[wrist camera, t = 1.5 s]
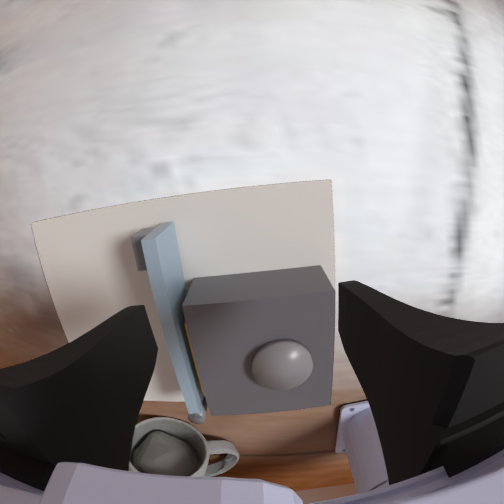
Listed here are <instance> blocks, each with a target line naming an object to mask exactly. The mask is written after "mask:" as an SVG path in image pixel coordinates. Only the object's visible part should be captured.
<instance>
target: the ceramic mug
mask: <svg viewBox="0 0 504 504" xmlns="http://www.w3.org/2000/svg"><path fill="white" fill-rule="evenodd" d="M222 453H228V454H227V456H226V457H225V458H224V459H223V460H221V461H219V462H216V463H213V464H210V465H208V462H209V456H210V455H212V454H222ZM238 460H239V453H238V451H237V449H236V447H235V446H234V444H233V443H231V442H229V441H226V440H210V441H206V439H205V438H204V436H203V435H202V434H201V432H200V431H199V430H197V429H196V428H195V427H194V426H192V425H191V424H189V423H186V422H184V421H182V420H179V419H176V418H170V417H153V418H149V419H145V420H143V421H141V422H139V423H137V424H136V426H135V431H134V436H133V441H132V447H131V455H130V462H129V471H131V472H139V473H147V474H158V475H170V476H189V477H211V476H215V475H219V474H221V473H224V472H226V471H228V470H229V469H231V468H232V467H233V466H234V465H235V464H236V463H237V462H238Z"/></svg>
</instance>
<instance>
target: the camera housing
mask: <svg viewBox="0 0 504 504" xmlns="http://www.w3.org/2000/svg"><path fill="white" fill-rule="evenodd" d="M182 308H183V313H184V317H185V323H184V325H185V329H186V333H187V337H188V341H189V345H190V349H191V353H192V357H193V360H194V364H195V368H196V371H197V375H198V379H199V382H200V386H201V389H202V393H203V396H205V398H206V401H207V404H208V408H209V411H210V414H211V416H213V415H240V414H256V413H269V412H279V411H289V410H297V409H305V408H313V407H319V406H326V405H331V395H332V380H333V362H334V337H335V289H334V288H333V286H332V284H331V282H330V281H329V279H328V277H327V275H326V274H325V272H324V270H323V268H322V267H321V265H316V266H307V267H297V268H288V269H278V270H269V271H259V272H249V273H239V274H229V275H218V276H207V277H196V278H194V279H193V281H192V284H191V286H190V288H189V291H188V293H187V295H186V297H185V300H184V302H183V304H182Z"/></svg>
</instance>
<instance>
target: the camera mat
mask: <svg viewBox="0 0 504 504" xmlns="http://www.w3.org/2000/svg"><path fill="white" fill-rule="evenodd" d="M172 221H174V225H175V231H176V237H177V243H178V248H179V254H180V259H181V265H182V270H183V275H184V280H185V285H186V290H187V293H188V291H189V288H190V286H191V284H192V281H193V279H194V278H196V277H207V276H218V275H229V274H239V273H249V272H259V271H269V270H278V269H288V268H297V267H307V266H316V265H321V267H322V268H323V270H324V272H325V274H326V275H327V277H328V279H329V281H330V282H331V284H332V286H333V288H334V289H335V241H334V214H333V195H332V180H330V179H329V180H315V181H302V182H290V183H279V184H268V185H258V186H249V187H239V188H231V189H222V190H214V191H206V192H199V193H191V194H184V195H177V196H170V197H164V198H157V199H151V200H144V201H138V202H132V203H126V204H121V205H115V206H110V207H104V208H99V209H94V210H88V211H83V212H78V213H73V214H68V215H64V216H59V217H54V218H50V219H45V220H41V221H36V222H33V223H31V225H32V229H33V234H34V238H35V242H36V246H37V250H38V254H39V258H40V261H41V265H42V268H43V272H44V275H45V278H46V282H47V285H48V288H49V291H50V294H51V297H52V300H53V303H54V306H55V309H56V311H57V314H58V317H59V319H60V322H61V325H62V327H63V330H64V332H65V335H66V337H67V340H68V342H69V343H70V342H72V341H73V340H75V339H77V338H78V337H80V336H82V335H83V334H85V333H86V332H88V331H90V330H91V329H93V328H94V327H96V326H97V325H99V324H101V323H102V322H104V321H105V320H107V319H108V318H110V317H111V316H113V315H114V314H116V313H117V312H119V311H121V310H123V309H124V308H126V307H129V306H135V305H144V306H145V309H146V312H147V316H148V319H149V322H150V325H151V328H152V331H153V334H154V337H155V340H156V343H157V346H158V353H157V359H156V364H155V369H154V372H153V375H152V378H151V381H150V383H149V386H148V389H147V392H146V395H145V397H144V400H146V401H185V400H184V397H183V395H182V392H181V389H180V386H179V383H178V380H177V377H176V373H175V370H174V367H173V364H172V361H171V357H170V354H169V351H168V348H167V344H166V341H165V337H164V334H163V330H162V327H161V323H160V319H159V316H158V312H157V308H156V304H155V300H154V296H153V292H152V288H151V284H150V280H149V276H148V271H147V270H146V271H138V269H137V265H136V260H135V256H134V251H133V247H132V242H131V237H132V236H133V235H134V234H136V233H137V232H138V231H140V230H141V229H143V228H150V227H157V226H159V225H160V224H161V223H164V222H172Z"/></svg>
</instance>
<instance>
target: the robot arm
mask: <svg viewBox="0 0 504 504" xmlns="http://www.w3.org/2000/svg"><path fill="white" fill-rule="evenodd" d="M338 330H339V334H340V337H341V340H342V344H343V347H344V350H345V352H346V355H347V357H348V359H349V361H350V363H351V365H352V367H353V369H354V372H355V374H356V376H357V378H358V380H359V382H360V384H361V386H362V388H363V391H364V393H365V395H366V397H367V400H368V401H363V402H358V403H353V404H347V405H344V406H342V407H341V409H340V417H339V425H338V432H337V440H336V447H335V452H336V453H344V452H347V456H348V460H349V464H350V467H351V471H352V475H353V479H354V483H355V487H356V490H357V494H355V495H352V496H347V497H342V498H337V499H332V500H327V501H321V502H315V503H309V504H504V323H484V322H473V321H466V320H460V319H455V318H449V317H445V316H441V315H437V314H433V313H430V312H427V311H424V310H421V309H418V308H415V307H412V306H410V305H407V304H405V303H402V302H400V301H398V300H396V299H393V298H391V297H389V296H387V295H385V294H383V293H381V292H379V291H377V290H375V289H373V288H371V287H369V286H367V285H364V284H362V283H360V282H358V281H355V280H354V281H347V282H341V283H339V321H338ZM157 353H158V346H157V343H156V340H155V337H154V334H153V331H152V328H151V325H150V322H149V319H148V316H147V312H146V309H145V306H144V305H135V306H129V307H126V308H124V309H123V310H121V311H119V312H117V313H116V314H114V315H113V316H111V317H110V318H108V319H107V320H105V321H104V322H102V323H101V324H99V325H97V326H96V327H94V328H93V329H91V330H90V331H88V332H86V333H85V334H83V335H82V336H80V337H78V338H77V339H75V340H73V341H72V342H70V343H68V344H66V345H64V346H62V347H60V348H58V349H56V350H54V351H52V352H50V353H48V354H45V355H43V356H40V357H38V358H35V359H33V360H30V361H27V362H24V363H21V364H18V365H14V366H10V367H7V368H2V369H0V504H303V501H302V500H301V499H300V498H299V497H298V496H297V494H296V493H295V492H294V491H293V490H292V489H290V488H288V487H286V486H282V485H278V484H274V483H271V482H267V481H264V480H261V479H245V478H231V477H189V476H170V475H158V474H147V473H139V472H131V471H129V462H130V455H131V447H132V441H133V436H134V431H135V426H136V421H137V418H138V414H139V412H140V409H141V406H142V403H143V400H144V397H145V395H146V392H147V389H148V386H149V383H150V381H151V378H152V375H153V372H154V369H155V364H156V359H157Z"/></svg>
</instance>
